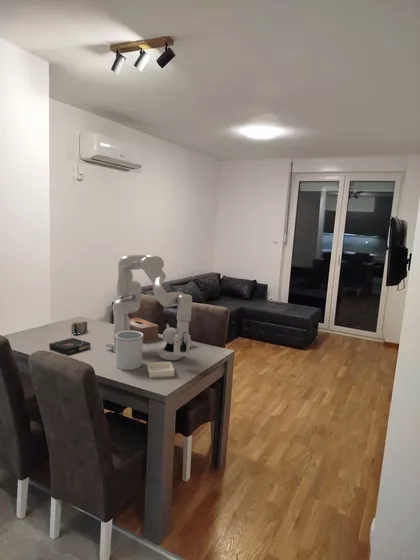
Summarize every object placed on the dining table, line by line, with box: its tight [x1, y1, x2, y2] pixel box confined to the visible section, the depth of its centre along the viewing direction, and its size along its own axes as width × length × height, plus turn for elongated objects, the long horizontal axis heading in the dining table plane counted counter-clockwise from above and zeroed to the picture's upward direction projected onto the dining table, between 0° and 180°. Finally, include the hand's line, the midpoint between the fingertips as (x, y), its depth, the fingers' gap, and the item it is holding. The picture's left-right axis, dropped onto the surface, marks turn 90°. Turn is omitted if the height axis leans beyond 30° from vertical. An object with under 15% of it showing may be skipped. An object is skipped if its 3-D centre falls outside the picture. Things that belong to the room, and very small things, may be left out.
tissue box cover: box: [129, 317, 159, 343], centre depth 257 cm, size 26×14×10 cm, turn 44°
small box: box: [174, 334, 191, 357], centre depth 201 cm, size 8×6×10 cm
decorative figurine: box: [158, 323, 184, 362], centre depth 218 cm, size 15×15×20 cm
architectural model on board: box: [71, 320, 88, 336], centre depth 257 cm, size 11×3×10 cm, turn 150°
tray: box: [146, 361, 175, 379], centre depth 194 cm, size 13×13×4 cm
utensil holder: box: [115, 331, 144, 371], centre depth 202 cm, size 15×15×18 cm
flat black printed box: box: [48, 337, 92, 356], centre depth 224 cm, size 16×17×4 cm
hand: (181, 348), depth 202 cm, fingers closed on small box, 7 cm apart
